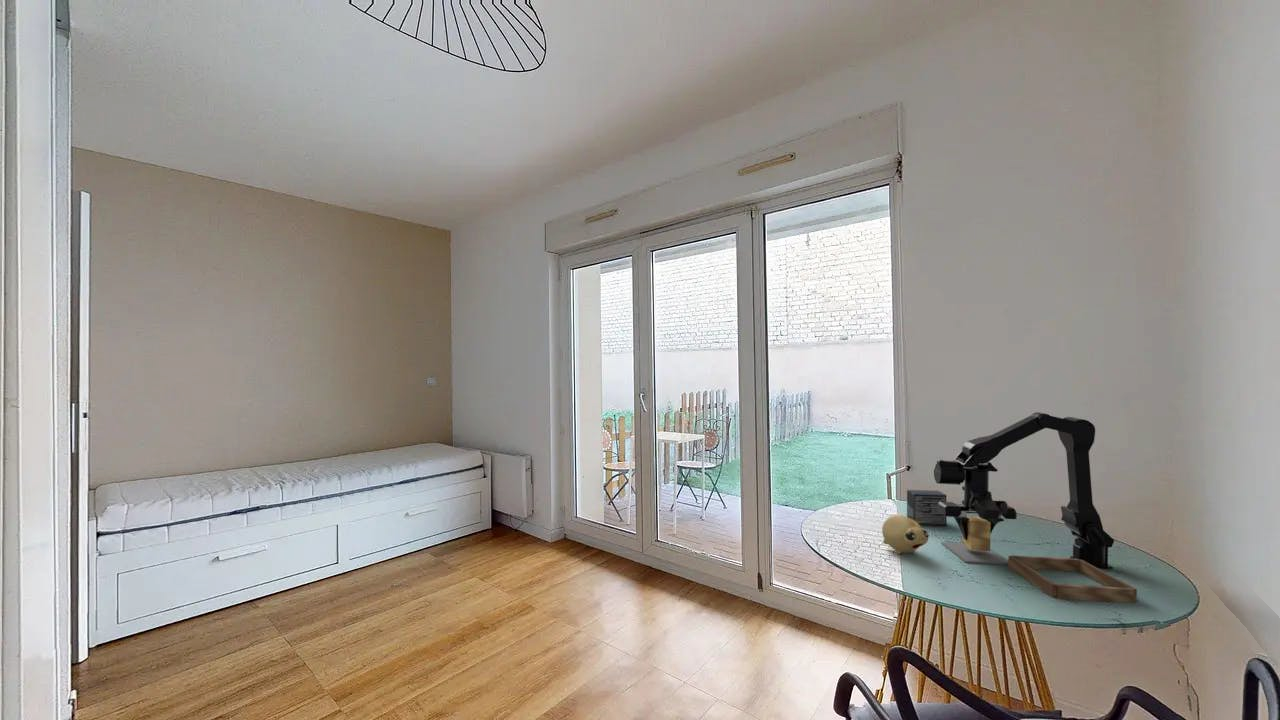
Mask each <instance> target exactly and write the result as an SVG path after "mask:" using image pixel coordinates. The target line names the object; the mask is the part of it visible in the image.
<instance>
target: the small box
mask: <svg viewBox="0 0 1280 720" xmlns="http://www.w3.org/2000/svg"><path fill="white" fill-rule="evenodd" d="M947 497H948V496H947V494H945V493H943V492H942V491H940V490H926V489H925V490H924V489H922V490H921V489H907V490H906V517H907V518H910V519H913V520H914V521H916V522H917V523H918V524H919V525H920V526H934V527H935V526H936V527H941V526H942V527H946V526H948V524H947V517H948V516H945V515H943V514H942V513H940V512H939V511H937V505H938V503H939V502H947Z"/></svg>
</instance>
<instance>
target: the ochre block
mask: <svg viewBox="0 0 1280 720" xmlns="http://www.w3.org/2000/svg"><path fill="white" fill-rule="evenodd" d="M966 517H967V518H969V521H968V523H967V524H968V539H967V540H965V539H964V537H963V535H962V534H961V543H962V544H963V545H965V546H966V547H967V548H969V549H970V550H977V551H990V548H991V535H990V524H991V523H990V522H989V521H987V520H985V519H982V518H980V517H979V516H967V515H966Z"/></svg>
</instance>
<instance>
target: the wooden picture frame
mask: <svg viewBox="0 0 1280 720" xmlns="http://www.w3.org/2000/svg"><path fill="white" fill-rule="evenodd" d="M1007 560H1008V565H1007V566H1008V568H1009V569H1010V570H1012V571H1013V572H1015V573H1016V574H1017V575H1019V576H1020V577H1022V578H1023V579H1025V580H1026V581H1028V582H1029V583H1030V584H1031V585H1033V586H1035V587H1036V588H1038V589H1039V590H1041V591H1042V592H1044V593H1045V594H1046V595H1048V596H1049V597H1051V598H1057V599H1061V600H1062V599H1063V600H1076V599H1077V601H1093V600H1095V602H1096V601H1098V602H1113V603H1114V602H1115V603H1129V604H1134V603H1137V601H1138V600H1137V597H1138V596H1137V595H1138V591H1137V590H1138V589H1137V588H1135V587H1134V586H1132V585H1131V584H1128V583H1126V582H1125V581H1122V580H1121V579H1119V578H1118V577H1115V576H1113V575H1111V574H1109V573H1108V572H1105V570H1102V569H1101V568H1097V567H1095V566H1093V565H1091V564H1089V563H1087V562H1085V561H1084V560H1079V559H1073V558H1069V557H1049V556H1032V555H1012V554H1011V555H1008V557H1007ZM1036 570H1041V571H1043V570H1044V571H1045V570H1046V571H1059V572H1061V571H1062V572H1064V571H1065V572H1078V571H1079V572H1078V573H1081V574H1082V573H1083V575H1085V576H1086V577H1088V578H1090V579H1091V580H1093V581H1094V582H1096V583H1099V584H1100V585H1102V586H1100V585H1099V586H1098V585H1083V584H1066V583H1065V584H1064V583H1055V582H1053V581H1051V580H1050V579H1048V578H1046V576H1044V575H1042V574H1041V573H1039V572H1038V571H1036ZM1078 599H1080V600H1078Z"/></svg>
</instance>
